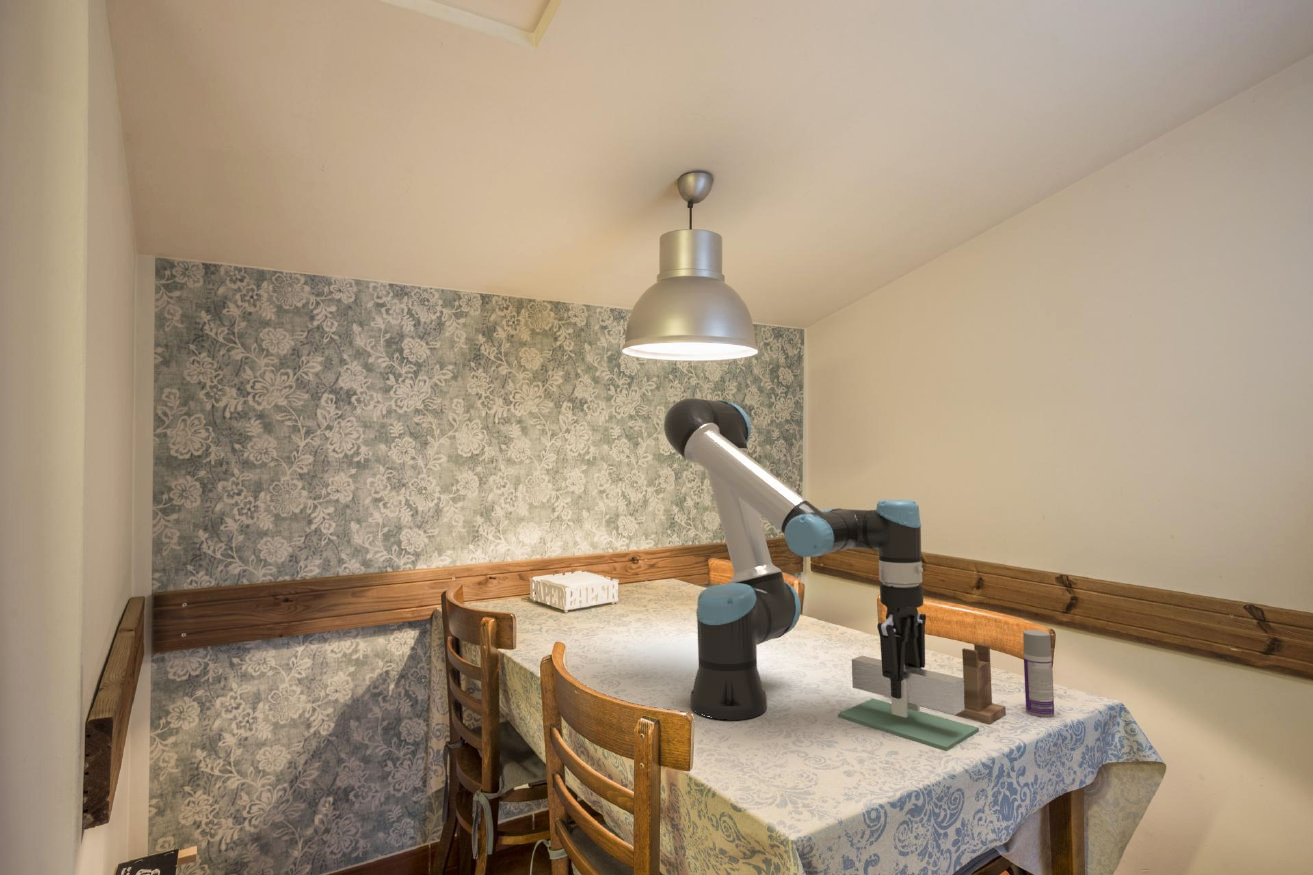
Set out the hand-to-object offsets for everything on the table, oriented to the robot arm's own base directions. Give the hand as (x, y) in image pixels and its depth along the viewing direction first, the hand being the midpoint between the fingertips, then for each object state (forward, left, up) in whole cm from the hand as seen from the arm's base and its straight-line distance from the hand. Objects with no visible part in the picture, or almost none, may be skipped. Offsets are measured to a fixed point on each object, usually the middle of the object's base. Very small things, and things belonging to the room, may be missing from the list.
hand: (905, 711), depth 123 cm
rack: (+14, 0, -2) cm, 14 cm away
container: (+23, -14, -2) cm, 27 cm away
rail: (0, 0, +3) cm, 3 cm away
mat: (0, 0, -2) cm, 2 cm away
